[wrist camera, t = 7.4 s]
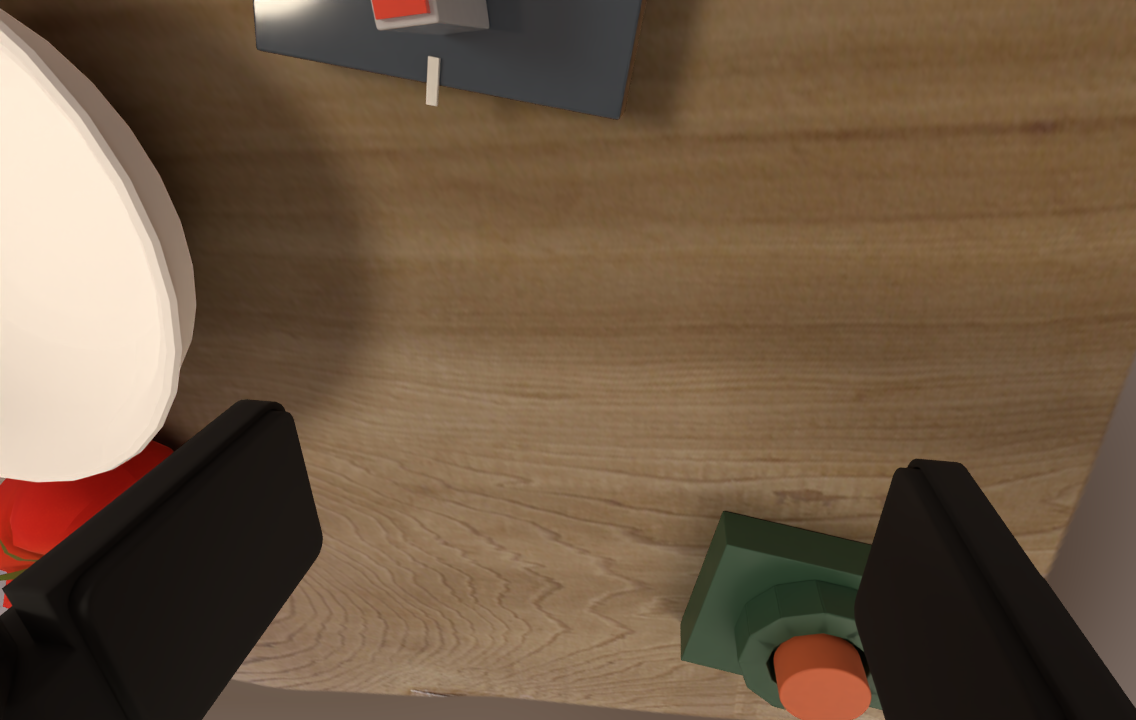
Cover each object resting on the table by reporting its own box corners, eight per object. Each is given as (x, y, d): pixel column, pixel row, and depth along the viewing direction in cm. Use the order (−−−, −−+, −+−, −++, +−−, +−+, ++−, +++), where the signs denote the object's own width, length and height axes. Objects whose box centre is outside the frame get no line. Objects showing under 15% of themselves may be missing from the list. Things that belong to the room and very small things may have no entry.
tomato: (54, 426, 32) (-105, 523, 26) (182, 398, 30) (43, 496, 23) (151, 555, 36) (34, 668, 29) (272, 539, 34) (174, 658, 27)
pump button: (873, 643, 25) (886, 681, 24) (841, 694, 27) (851, 733, 25) (788, 623, 26) (796, 659, 24) (762, 675, 27) (767, 712, 26)
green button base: (940, 560, 27) (980, 636, 24) (870, 669, 31) (895, 748, 28) (723, 510, 28) (730, 576, 24) (680, 623, 32) (680, 694, 28)
